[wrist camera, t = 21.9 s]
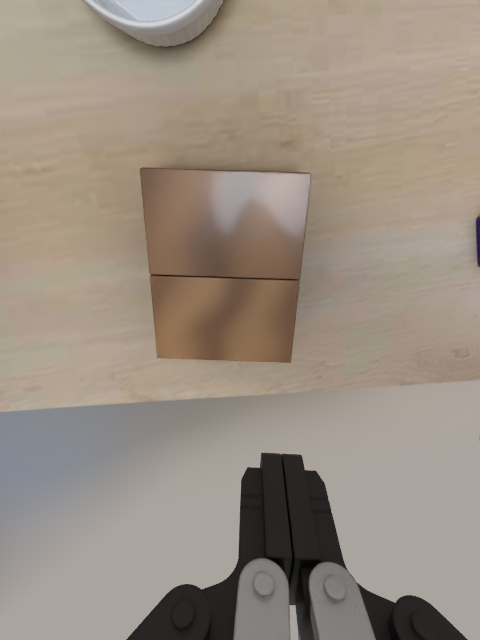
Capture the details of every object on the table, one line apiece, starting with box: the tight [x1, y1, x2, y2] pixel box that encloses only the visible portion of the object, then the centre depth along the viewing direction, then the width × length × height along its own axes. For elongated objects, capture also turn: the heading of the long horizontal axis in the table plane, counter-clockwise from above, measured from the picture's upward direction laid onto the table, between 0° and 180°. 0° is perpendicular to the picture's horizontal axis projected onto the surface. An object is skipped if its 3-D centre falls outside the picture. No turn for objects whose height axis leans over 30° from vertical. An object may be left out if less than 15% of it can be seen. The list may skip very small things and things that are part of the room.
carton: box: [140, 168, 311, 280], centre depth 32 cm, size 14×18×7 cm
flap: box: [150, 275, 299, 363], centre depth 31 cm, size 14×9×1 cm, turn 88°
